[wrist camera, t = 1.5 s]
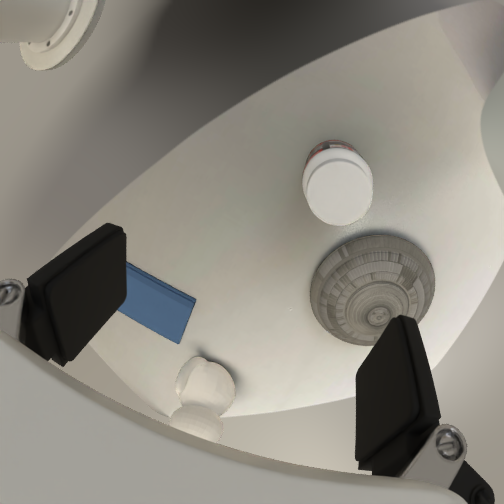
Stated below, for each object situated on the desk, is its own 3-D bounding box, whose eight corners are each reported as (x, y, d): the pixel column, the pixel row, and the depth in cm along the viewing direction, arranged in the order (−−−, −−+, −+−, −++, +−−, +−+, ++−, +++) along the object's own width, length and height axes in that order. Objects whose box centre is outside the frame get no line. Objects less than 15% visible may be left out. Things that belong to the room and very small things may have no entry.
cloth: (110, 303, 45) (108, 306, 44) (116, 256, 40) (114, 258, 39) (179, 342, 45) (177, 345, 44) (196, 299, 40) (194, 302, 39)
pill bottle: (310, 135, 27) (304, 145, 19) (366, 145, 26) (387, 161, 18) (302, 190, 30) (293, 225, 21) (356, 199, 29) (370, 239, 21)
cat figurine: (205, 394, 50) (176, 462, 37) (171, 345, 45) (128, 417, 32) (250, 393, 47) (226, 469, 34) (219, 341, 42) (181, 424, 29)
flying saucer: (403, 204, 28) (417, 224, 23) (445, 305, 32) (457, 333, 27) (286, 269, 35) (279, 296, 30) (345, 351, 38) (345, 381, 34)
